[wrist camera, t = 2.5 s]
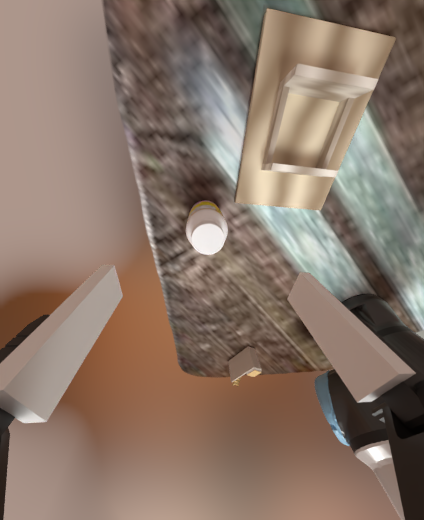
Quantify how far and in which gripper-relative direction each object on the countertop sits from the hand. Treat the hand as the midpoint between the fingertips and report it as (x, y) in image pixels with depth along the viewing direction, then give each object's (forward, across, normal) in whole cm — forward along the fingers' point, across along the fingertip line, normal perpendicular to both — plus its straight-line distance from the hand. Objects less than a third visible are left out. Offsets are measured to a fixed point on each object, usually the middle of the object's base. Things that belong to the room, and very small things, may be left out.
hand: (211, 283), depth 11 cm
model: (+20, -16, +47) cm, 54 cm away
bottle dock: (+20, -13, -13) cm, 27 cm away
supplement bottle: (+20, 0, 0) cm, 20 cm away
